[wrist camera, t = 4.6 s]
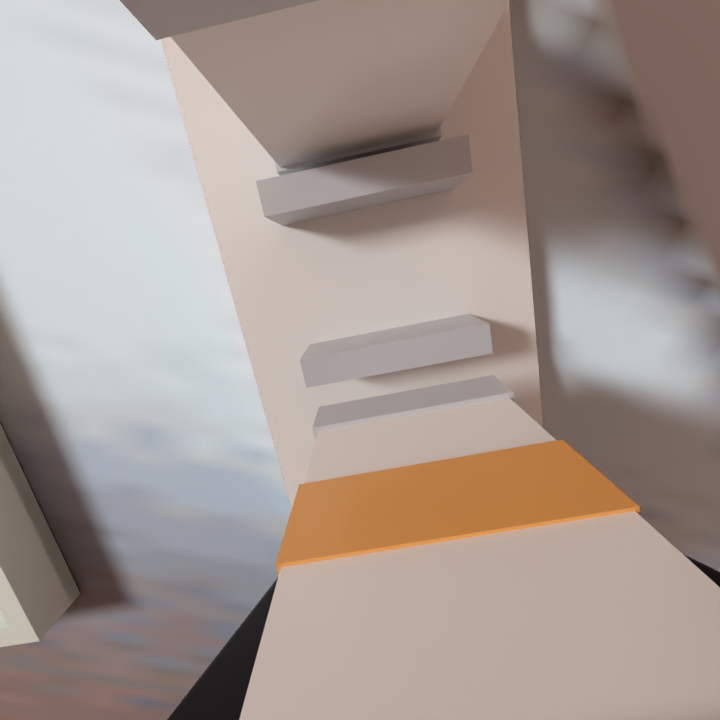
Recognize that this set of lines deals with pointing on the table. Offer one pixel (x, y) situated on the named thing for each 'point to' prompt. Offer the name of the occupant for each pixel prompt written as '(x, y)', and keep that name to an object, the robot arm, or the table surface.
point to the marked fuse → (475, 578)
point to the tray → (27, 560)
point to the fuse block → (373, 256)
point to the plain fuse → (330, 68)
